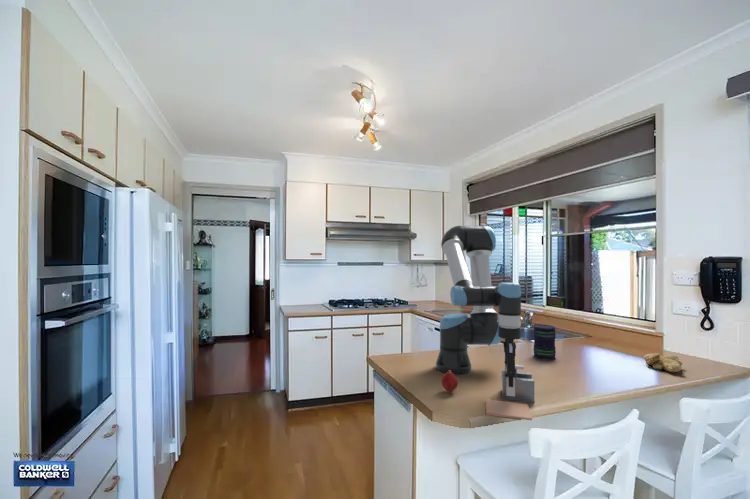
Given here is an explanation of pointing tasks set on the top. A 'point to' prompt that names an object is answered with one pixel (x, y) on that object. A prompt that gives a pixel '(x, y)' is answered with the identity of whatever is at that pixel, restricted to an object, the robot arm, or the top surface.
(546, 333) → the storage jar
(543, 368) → the top surface
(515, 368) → the post stand
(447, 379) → the onion
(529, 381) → the c link
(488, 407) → the tile
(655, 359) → the ginger root
